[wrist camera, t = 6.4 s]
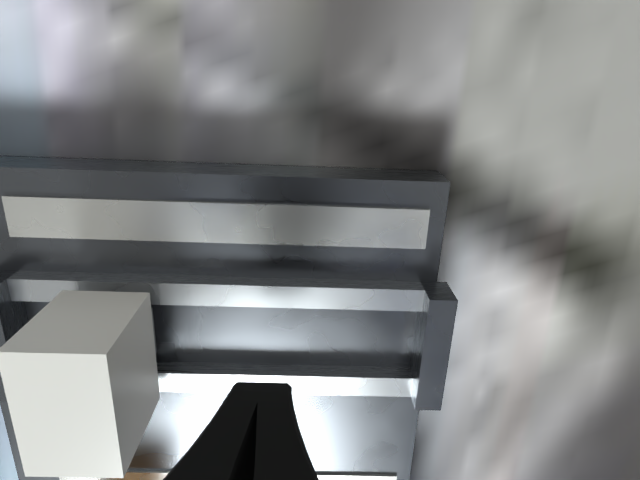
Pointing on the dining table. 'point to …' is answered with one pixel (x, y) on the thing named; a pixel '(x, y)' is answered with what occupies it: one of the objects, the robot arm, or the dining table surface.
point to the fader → (82, 383)
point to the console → (249, 292)
